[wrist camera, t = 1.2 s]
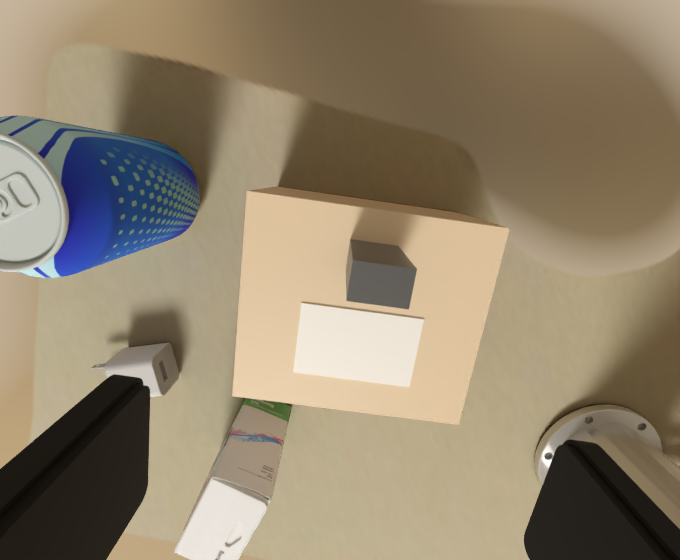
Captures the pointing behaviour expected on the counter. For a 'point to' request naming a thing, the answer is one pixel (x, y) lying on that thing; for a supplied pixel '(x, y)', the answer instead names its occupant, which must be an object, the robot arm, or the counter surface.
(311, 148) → the counter surface
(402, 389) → the tan labeled panel
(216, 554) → the ink box
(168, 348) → the usb wall charger
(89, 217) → the beer can
